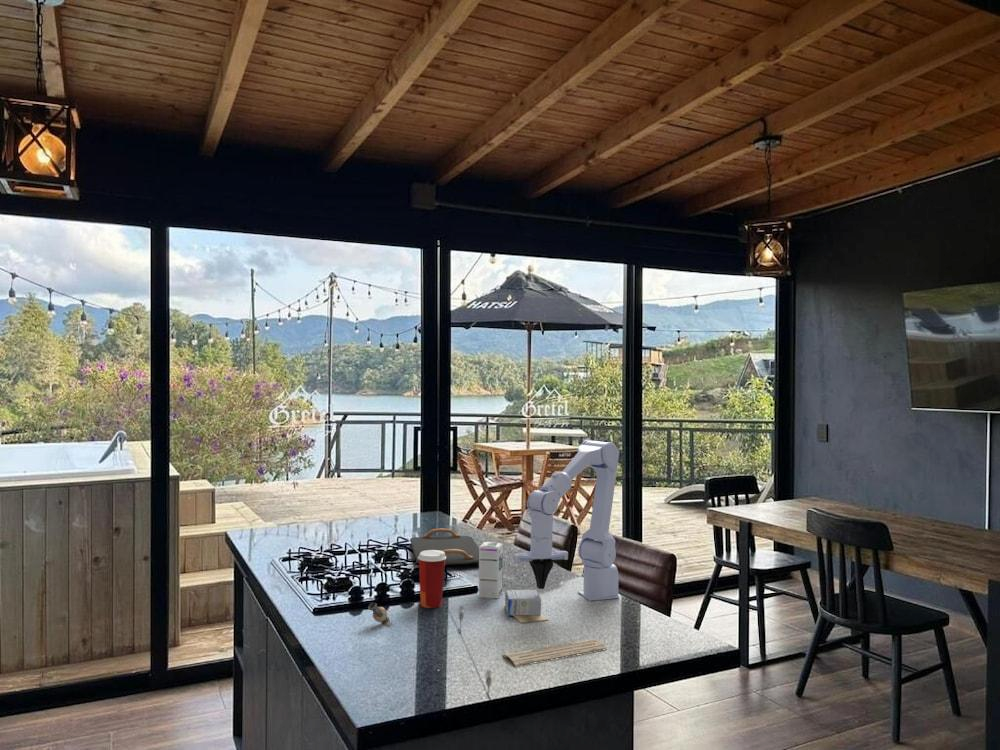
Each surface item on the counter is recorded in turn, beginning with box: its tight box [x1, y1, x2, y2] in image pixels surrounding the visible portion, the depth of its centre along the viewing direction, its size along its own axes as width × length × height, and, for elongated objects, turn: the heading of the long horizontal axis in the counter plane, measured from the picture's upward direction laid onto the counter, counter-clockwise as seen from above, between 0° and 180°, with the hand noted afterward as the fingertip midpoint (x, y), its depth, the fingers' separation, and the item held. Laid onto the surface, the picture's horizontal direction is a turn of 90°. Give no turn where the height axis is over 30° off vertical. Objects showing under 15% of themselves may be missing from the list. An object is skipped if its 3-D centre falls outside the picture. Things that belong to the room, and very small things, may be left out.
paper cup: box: [418, 550, 446, 609], centre depth 191 cm, size 8×8×14 cm
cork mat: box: [504, 605, 549, 624], centre depth 186 cm, size 8×13×1 cm, turn 18°
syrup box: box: [478, 541, 504, 600], centre depth 201 cm, size 6×6×14 cm
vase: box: [368, 601, 394, 628], centre depth 175 cm, size 5×5×6 cm
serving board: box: [409, 527, 480, 568], centre depth 244 cm, size 39×23×6 cm, turn 11°
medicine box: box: [504, 589, 542, 616], centre depth 187 cm, size 8×4×9 cm
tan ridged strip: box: [502, 638, 607, 668], centre depth 160 cm, size 24×7×2 cm, turn 116°
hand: (540, 587), depth 187 cm, fingers closed
